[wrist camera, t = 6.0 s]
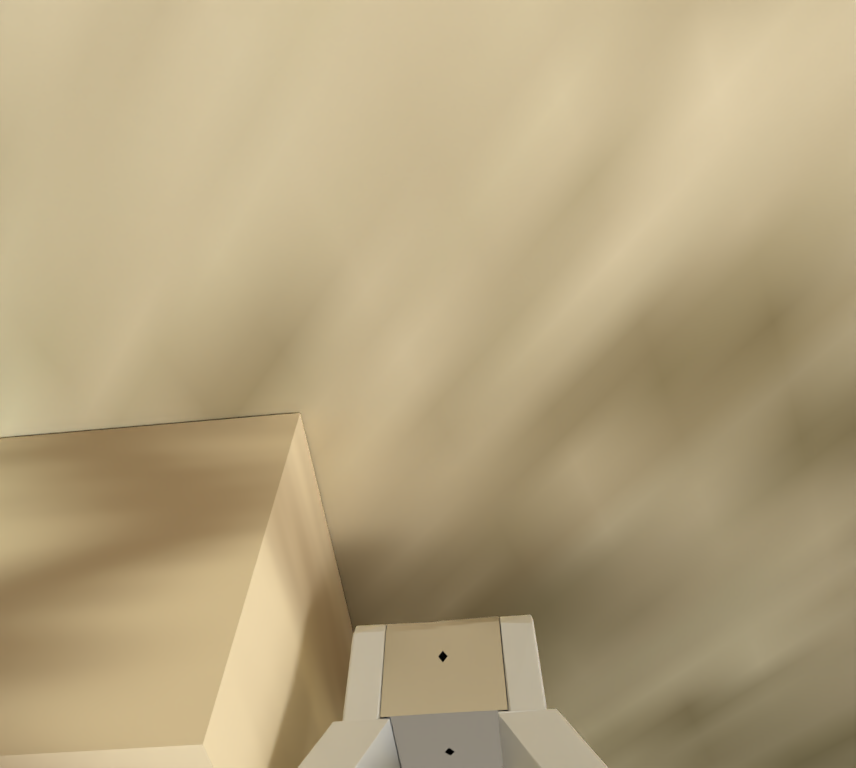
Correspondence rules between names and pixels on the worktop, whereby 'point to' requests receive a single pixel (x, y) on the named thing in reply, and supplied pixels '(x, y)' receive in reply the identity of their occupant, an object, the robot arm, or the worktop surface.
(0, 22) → the worktop surface
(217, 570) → the beech block
